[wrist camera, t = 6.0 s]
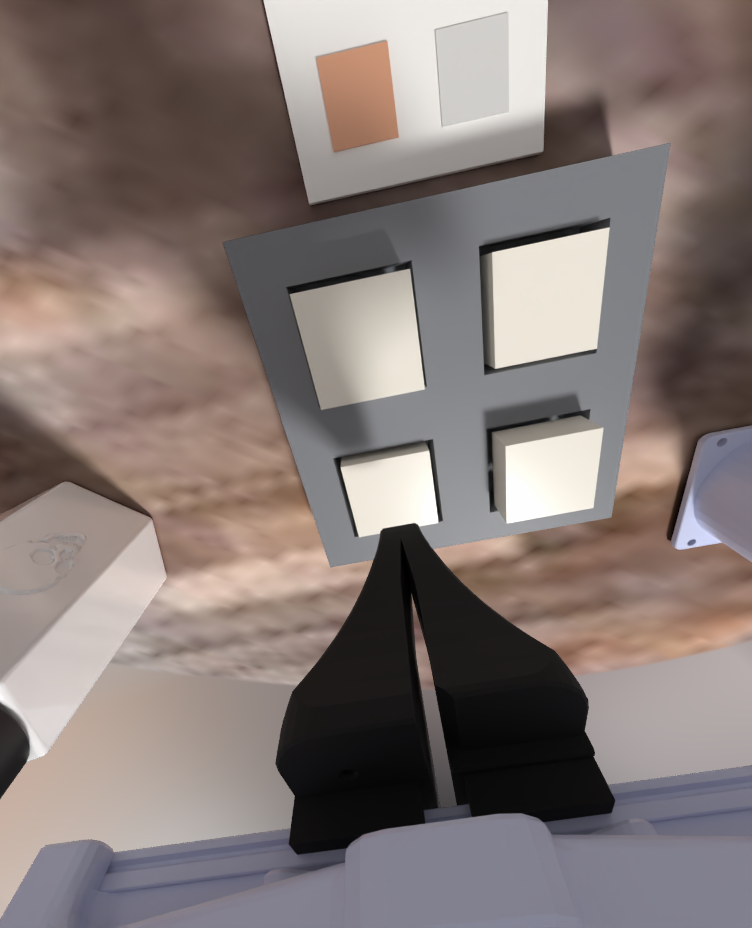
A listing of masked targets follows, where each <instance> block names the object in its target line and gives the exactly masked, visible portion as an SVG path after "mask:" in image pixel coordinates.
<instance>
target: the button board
mask: <svg viewBox="0 0 752 928" xmlns="http://www.w3.org/2000/svg"><path fill="white" fill-rule="evenodd" d="M670 144H671V143H667V144H663V145H658V146H654V147H649V148H645V149H640V150H636V151H631V152H627V153H622V154H618V155H613V156H609V157H604V158H600V159H595V160H591V161H586V162H581V163H577V164H572V165H568V166H563V167H559V168H554V169H550V170H545V171H541V172H536V173H532V174H527V175H523V176H518V177H514V178H509V179H505V180H500V181H496V182H491V183H487V184H482V185H478V186H473V187H469V188H464V189H460V190H455V191H451V192H446V193H442V194H437V195H433V196H428V197H423V198H419V199H414V200H410V201H405V202H401V203H396V204H392V205H387V206H383V207H378V208H374V209H369V210H365V211H360V212H356V213H351V214H347V215H342V216H338V217H333V218H329V219H324V220H320V221H315V222H311V223H306V224H302V225H297V226H293V227H288V228H284V229H279V230H275V231H270V232H265V233H261V234H256V235H252V236H247V237H243V238H238V239H234V240H229V241H225V242H223V245H224V248H225V251H226V254H227V257H228V260H229V263H230V266H231V269H232V272H233V275H234V278H235V281H236V284H237V287H238V290H239V293H240V296H241V299H242V302H243V305H244V308H245V311H246V314H247V317H248V320H249V323H250V326H251V329H252V332H253V335H254V339H255V342H256V345H257V348H258V351H259V354H260V357H261V360H262V363H263V366H264V369H265V372H266V375H267V378H268V381H269V384H270V387H271V390H272V393H273V396H274V399H275V402H276V405H277V408H278V411H279V414H280V417H281V420H282V423H283V426H284V429H285V432H286V435H287V438H288V441H289V444H290V447H291V450H292V453H293V456H294V459H295V462H296V465H297V468H298V471H299V474H300V477H301V480H302V483H303V486H304V489H305V492H306V495H307V498H308V501H309V504H310V507H311V510H312V513H313V516H314V519H315V522H316V525H317V528H318V531H319V534H320V537H321V540H322V543H323V546H324V549H325V552H326V555H327V558H328V561H329V564H330V567H335V566H341V565H346V564H352V563H358V562H363V561H369V560H374V557H375V554H376V551H377V547H378V543H379V538H380V534H375V535H369V536H364V537H359V535H358V531H357V528H356V524H355V520H354V516H353V512H352V509H351V505H350V501H349V497H348V494H347V490H346V486H345V482H344V479H343V475H342V471H341V458H342V457H343V456H348V455H353V454H358V453H363V452H369V451H374V450H379V449H384V448H390V447H395V446H400V445H405V444H410V443H416V442H421V441H425V442H426V445H427V447H428V449H429V452H430V460H431V468H432V476H433V484H434V492H435V499H436V507H437V515H438V523H436V524H430V525H425V526H419V528H420V530H421V532H422V534H423V535H424V537H425V539H426V540H427V541H428V543H429V544H430V546H431V547H432V549H436V548H442V547H447V546H453V545H459V544H464V543H470V542H476V541H481V540H487V539H492V538H498V537H504V536H509V535H515V534H521V533H526V532H532V531H537V530H543V529H549V528H554V527H560V526H566V525H571V524H577V523H582V522H588V521H594V520H599V519H605V518H610V517H611V516H612V510H613V504H614V497H615V491H616V485H617V478H618V472H619V466H620V459H621V453H622V447H623V440H624V434H625V428H626V421H627V415H628V409H629V403H630V396H631V390H632V384H633V377H634V371H635V365H636V358H637V352H638V346H639V339H640V333H641V327H642V320H643V314H644V308H645V302H646V295H647V289H648V283H649V276H650V270H651V264H652V257H653V251H654V245H655V238H656V232H657V226H658V219H659V213H660V207H661V201H662V194H663V188H664V182H665V175H666V169H667V163H668V156H669V150H670ZM609 227H610V229H609V239H608V248H607V258H606V267H605V277H604V286H603V296H602V305H601V315H600V324H599V333H598V343H597V349H593V350H588V351H583V352H578V353H573V354H568V355H563V356H557V357H552V358H547V359H542V360H537V361H532V362H527V363H522V364H517V365H512V366H507V367H502V368H497V369H495V368H493V367H491V366H489V365H487V364H485V363H484V358H483V334H482V310H481V285H480V261H479V257H480V256H483V255H486V254H489V253H492V252H496V251H501V250H506V249H510V248H515V247H520V246H524V245H529V244H534V243H538V242H543V241H548V240H552V239H557V238H562V237H567V236H571V235H576V234H581V233H585V232H590V231H595V230H599V229H604V228H609ZM406 269H410V273H411V281H412V289H413V297H414V305H415V313H416V321H417V330H418V338H419V346H420V354H421V362H422V370H423V378H424V386H425V390H420V391H415V392H410V393H405V394H400V395H394V396H389V397H384V398H379V399H374V400H369V401H364V402H359V403H354V404H349V405H344V406H339V407H334V408H329V409H324V410H321V408H320V404H319V401H318V397H317V393H316V390H315V386H314V382H313V379H312V375H311V371H310V368H309V364H308V360H307V356H306V353H305V349H304V345H303V342H302V338H301V334H300V331H299V327H298V323H297V320H296V316H295V312H294V309H293V305H292V301H291V298H290V294H293V293H298V292H303V291H307V290H312V289H317V288H321V287H326V286H331V285H336V284H340V283H345V282H350V281H354V280H359V279H364V278H368V277H373V276H378V275H382V274H387V273H392V272H397V271H401V270H406ZM579 415H581V416H583V417H584V418H586V419H588V420H590V421H592V422H594V423H596V424H598V425H599V426H601V427H603V428H604V429H603V436H602V444H601V452H600V460H599V468H598V476H597V484H596V492H595V499H594V507H593V508H591V509H585V510H580V511H574V512H569V513H563V514H557V515H552V516H546V517H541V518H535V519H530V520H524V521H518V522H513V523H506V522H505V520H504V519H503V517H502V516H501V514H500V513H499V511H498V510H497V508H496V507H495V505H494V483H493V454H492V432H496V431H501V430H506V429H511V428H516V427H522V426H527V425H532V424H537V423H543V422H548V421H553V420H558V419H564V418H569V417H574V416H579Z"/></svg>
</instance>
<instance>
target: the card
mask: <svg viewBox="0 0 752 928" xmlns="http://www.w3.org/2000/svg"><path fill="white" fill-rule="evenodd" d="M264 5H265V9H266V14H267V18H268V23H269V27H270V32H271V36H272V41H273V45H274V50H275V54H276V58H277V63H278V67H279V72H280V76H281V81H282V85H283V90H284V94H285V99H286V103H287V108H288V112H289V116H290V121H291V125H292V130H293V134H294V139H295V143H296V148H297V152H298V157H299V161H300V166H301V170H302V175H303V179H304V183H305V188H306V192H307V197H308V201H309V205H315V204H319V203H324V202H328V201H332V200H337V199H341V198H346V197H350V196H355V195H359V194H364V193H368V192H373V191H377V190H382V189H386V188H391V187H395V186H400V185H404V184H408V183H413V182H417V181H422V180H426V179H431V178H435V177H440V176H444V175H449V174H453V173H458V172H462V171H467V170H471V169H476V168H480V167H484V166H489V165H493V164H498V163H502V162H507V161H511V160H516V159H520V158H525V157H529V156H534V155H538V154H540V153H542V152H543V148H544V113H545V79H546V44H547V9H548V0H264Z"/></svg>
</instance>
